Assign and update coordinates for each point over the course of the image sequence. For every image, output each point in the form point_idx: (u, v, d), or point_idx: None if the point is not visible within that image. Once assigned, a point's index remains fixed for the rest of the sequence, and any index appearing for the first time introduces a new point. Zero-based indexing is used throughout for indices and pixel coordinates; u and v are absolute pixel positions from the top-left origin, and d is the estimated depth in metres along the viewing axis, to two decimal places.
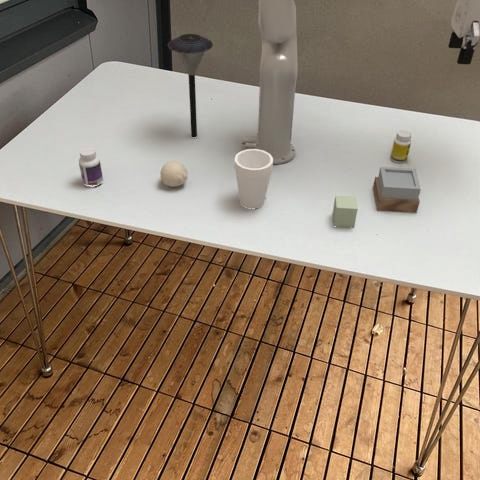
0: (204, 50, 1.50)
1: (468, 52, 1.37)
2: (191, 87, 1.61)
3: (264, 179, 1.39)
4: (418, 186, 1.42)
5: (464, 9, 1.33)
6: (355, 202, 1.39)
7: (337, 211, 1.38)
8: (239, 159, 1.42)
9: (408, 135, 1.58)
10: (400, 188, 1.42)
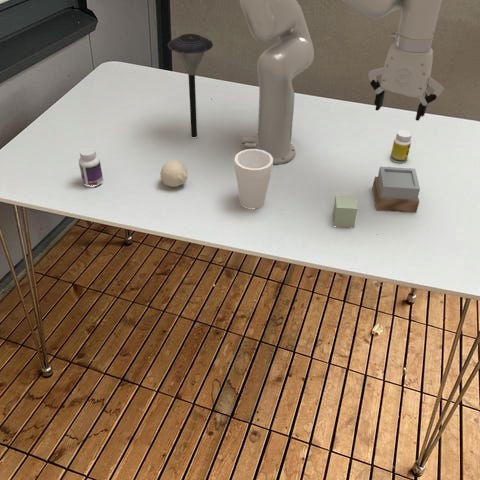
0: (204, 50, 1.50)
1: (425, 106, 1.31)
2: (191, 87, 1.61)
3: (264, 179, 1.39)
4: (417, 186, 1.42)
5: (419, 70, 1.24)
6: (355, 202, 1.39)
7: (337, 211, 1.38)
8: (239, 159, 1.42)
9: (408, 135, 1.58)
10: (399, 188, 1.42)
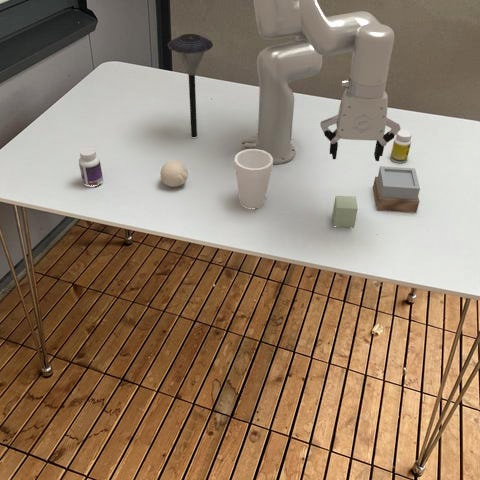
0: (204, 50, 1.50)
1: None
2: (191, 87, 1.61)
3: (264, 179, 1.39)
4: (417, 186, 1.42)
5: (379, 114, 1.20)
6: (355, 202, 1.39)
7: (337, 211, 1.38)
8: (239, 159, 1.42)
9: (408, 135, 1.58)
10: (399, 187, 1.42)
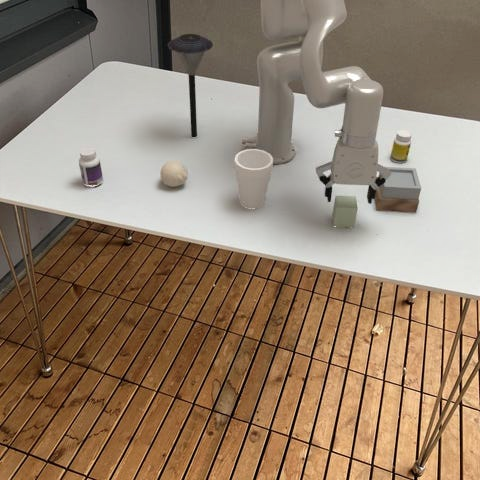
0: (204, 50, 1.50)
1: None
2: (191, 87, 1.61)
3: (264, 179, 1.39)
4: (418, 186, 1.42)
5: (370, 161, 1.27)
6: (355, 202, 1.39)
7: (337, 211, 1.38)
8: (239, 159, 1.42)
9: (408, 135, 1.58)
10: (401, 188, 1.42)
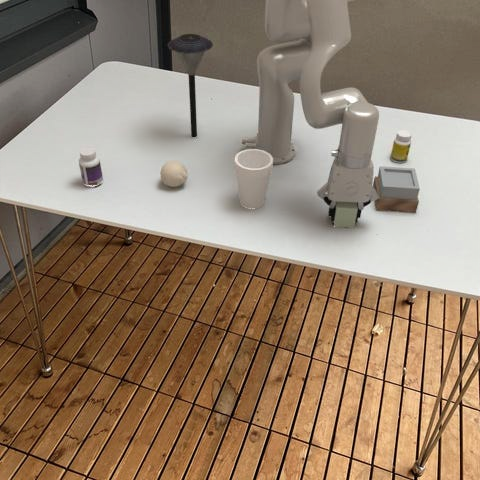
0: (204, 50, 1.50)
1: None
2: (191, 87, 1.61)
3: (264, 179, 1.39)
4: (417, 186, 1.42)
5: (365, 180, 1.31)
6: (355, 202, 1.39)
7: (337, 211, 1.38)
8: (239, 159, 1.42)
9: (408, 135, 1.58)
10: (399, 188, 1.42)
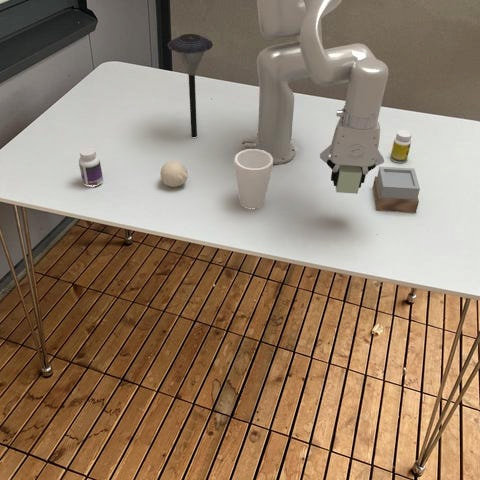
0: (204, 50, 1.50)
1: None
2: (191, 87, 1.61)
3: (264, 179, 1.39)
4: (417, 186, 1.42)
5: (371, 143, 1.25)
6: (359, 166, 1.33)
7: (340, 175, 1.32)
8: (239, 159, 1.42)
9: (408, 135, 1.58)
10: (399, 188, 1.42)
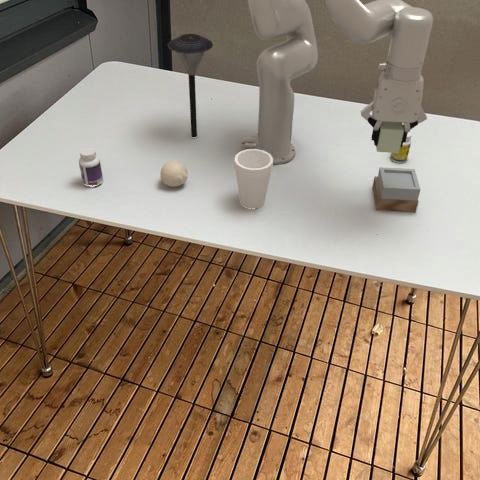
0: (204, 50, 1.50)
1: None
2: (191, 87, 1.61)
3: (264, 179, 1.39)
4: (418, 186, 1.42)
5: (414, 96, 1.23)
6: (401, 124, 1.31)
7: (382, 133, 1.30)
8: (239, 159, 1.42)
9: (408, 135, 1.58)
10: (400, 189, 1.42)
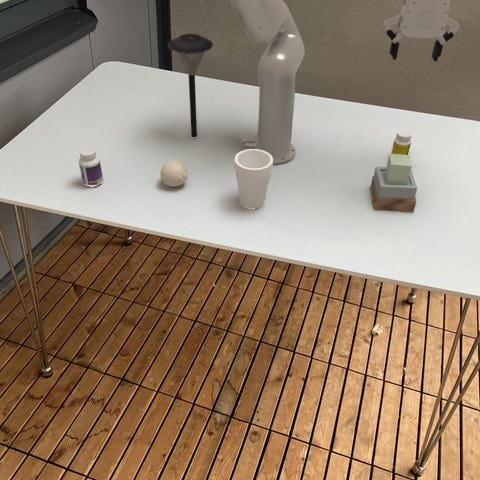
0: (204, 50, 1.50)
1: None
2: (191, 87, 1.61)
3: (264, 179, 1.39)
4: (414, 185, 1.43)
5: (442, 10, 1.27)
6: (409, 160, 1.42)
7: (391, 168, 1.41)
8: (239, 159, 1.42)
9: (408, 135, 1.58)
10: (397, 188, 1.42)
